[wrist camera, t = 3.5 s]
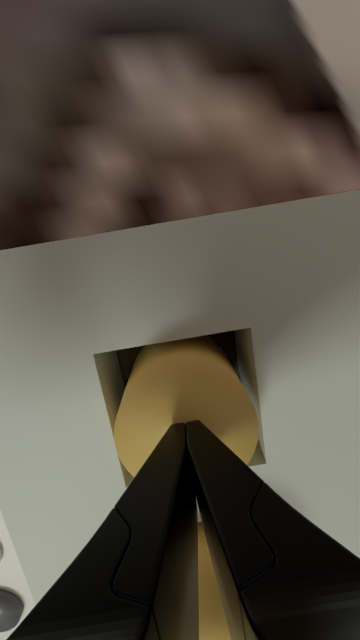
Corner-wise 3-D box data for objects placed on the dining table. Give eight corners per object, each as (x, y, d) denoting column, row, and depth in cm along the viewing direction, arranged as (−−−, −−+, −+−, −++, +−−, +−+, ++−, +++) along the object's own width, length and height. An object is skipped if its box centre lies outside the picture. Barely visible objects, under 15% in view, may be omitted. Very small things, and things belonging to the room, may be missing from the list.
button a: (223, 321, 12) (250, 355, 8) (236, 413, 13) (265, 483, 9) (122, 338, 12) (99, 380, 8) (142, 429, 13) (129, 506, 9)
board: (335, 201, 11) (393, 183, 8) (354, 668, 17) (392, 753, 14) (-24, 262, 11) (-91, 265, 8) (118, 707, 17) (108, 800, 14)
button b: (251, 490, 12) (290, 603, 8) (261, 567, 13) (300, 701, 9) (152, 507, 12) (143, 627, 8) (169, 583, 13) (169, 723, 9)
